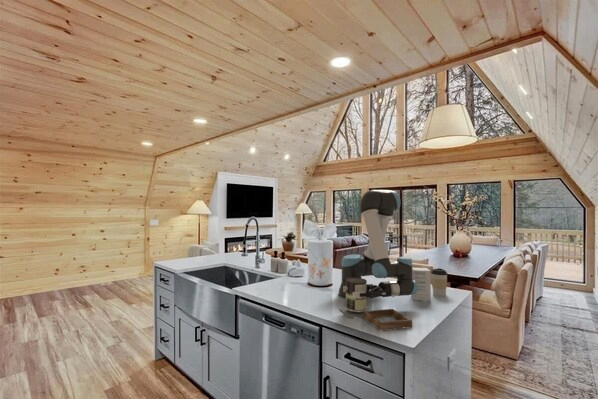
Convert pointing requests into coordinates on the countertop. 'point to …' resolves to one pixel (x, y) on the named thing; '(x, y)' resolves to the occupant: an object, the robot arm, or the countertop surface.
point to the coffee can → (351, 287)
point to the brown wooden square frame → (391, 324)
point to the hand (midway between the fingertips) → (348, 292)
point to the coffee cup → (439, 282)
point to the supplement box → (422, 283)
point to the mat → (352, 313)
